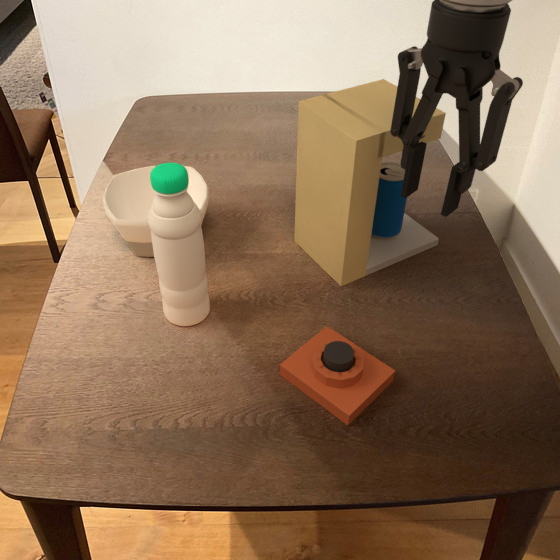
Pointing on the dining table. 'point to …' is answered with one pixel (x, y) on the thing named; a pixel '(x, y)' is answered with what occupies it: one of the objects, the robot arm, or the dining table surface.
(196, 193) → the bowl
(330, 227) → the coffee maker
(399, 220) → the beverage can
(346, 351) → the button
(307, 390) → the brew pad
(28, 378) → the dining table surface
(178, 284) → the water bottle
